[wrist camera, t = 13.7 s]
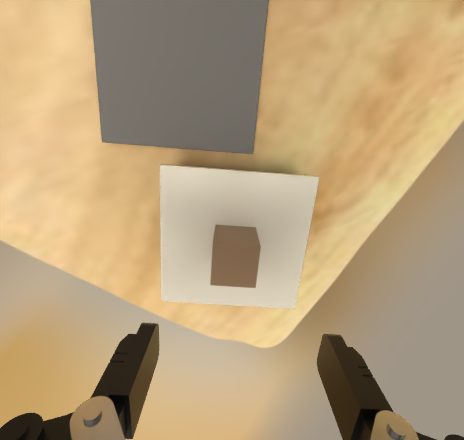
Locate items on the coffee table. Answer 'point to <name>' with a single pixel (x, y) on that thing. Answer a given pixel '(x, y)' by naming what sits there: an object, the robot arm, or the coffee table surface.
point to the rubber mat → (179, 72)
